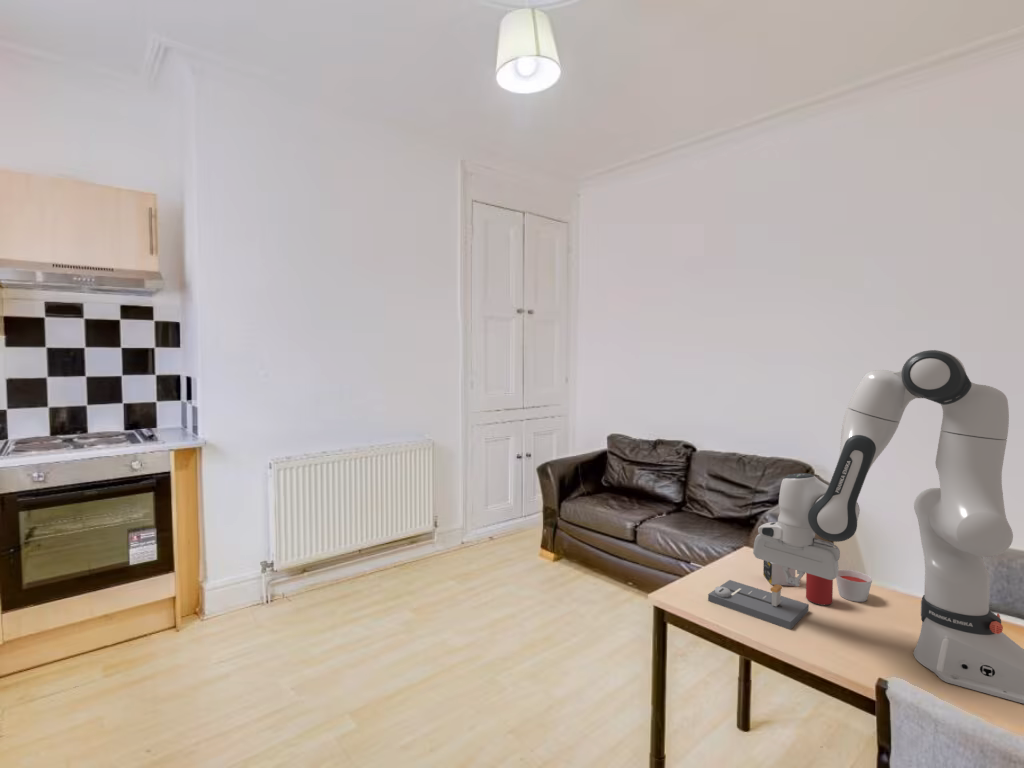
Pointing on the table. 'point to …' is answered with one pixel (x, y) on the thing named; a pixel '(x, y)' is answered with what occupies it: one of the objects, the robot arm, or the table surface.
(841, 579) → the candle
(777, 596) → the fader
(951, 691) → the table surface
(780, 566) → the medicine bottle
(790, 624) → the console
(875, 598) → the table surface
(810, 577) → the beer can
